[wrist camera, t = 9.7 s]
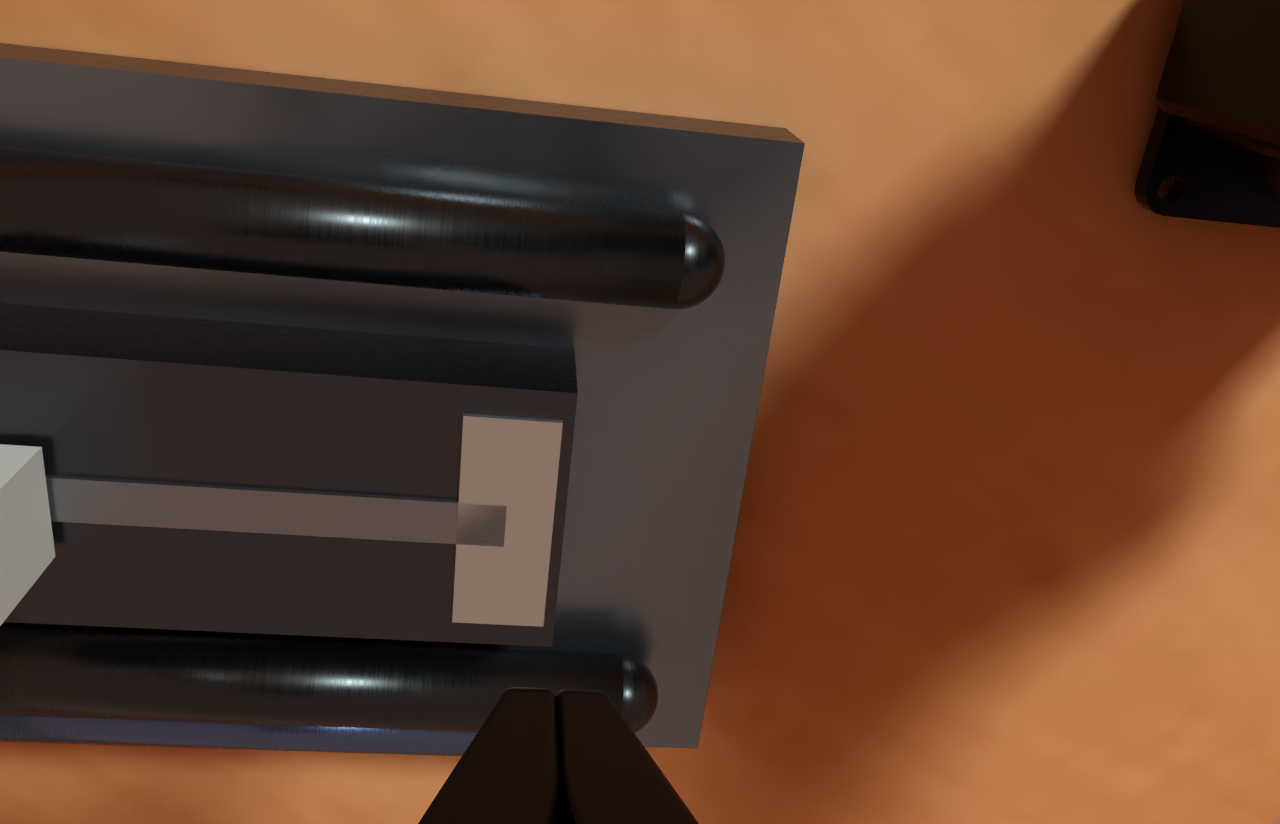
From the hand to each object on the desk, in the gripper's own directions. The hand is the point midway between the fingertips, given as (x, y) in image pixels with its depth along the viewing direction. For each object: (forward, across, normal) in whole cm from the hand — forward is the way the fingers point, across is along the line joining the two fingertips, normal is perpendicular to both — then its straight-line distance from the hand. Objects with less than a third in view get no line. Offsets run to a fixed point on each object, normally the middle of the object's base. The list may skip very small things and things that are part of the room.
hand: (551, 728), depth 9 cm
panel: (+12, +5, +3) cm, 13 cm away
